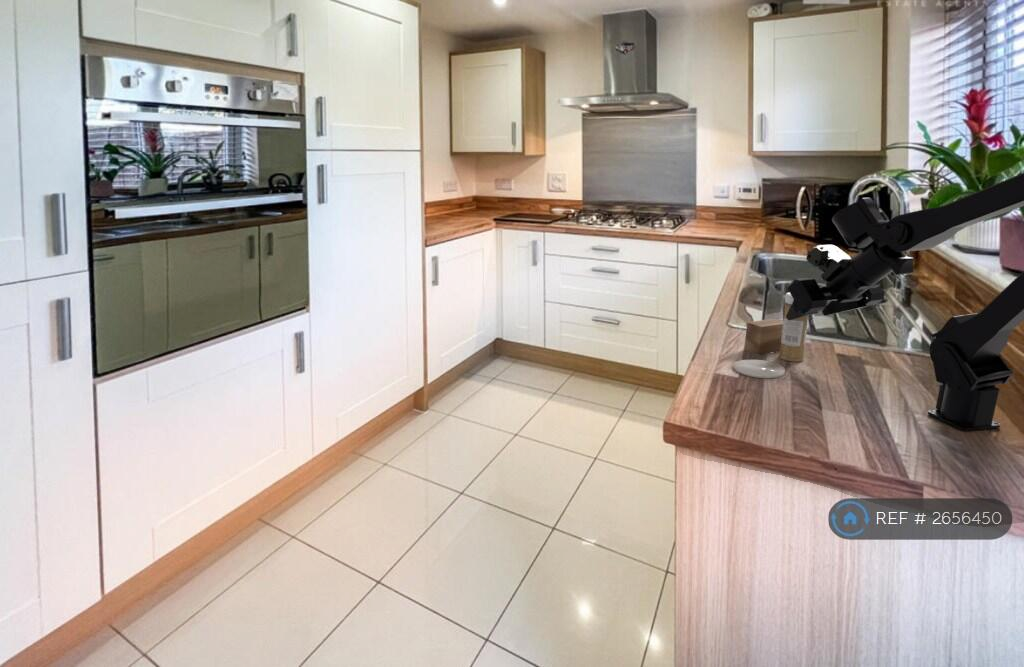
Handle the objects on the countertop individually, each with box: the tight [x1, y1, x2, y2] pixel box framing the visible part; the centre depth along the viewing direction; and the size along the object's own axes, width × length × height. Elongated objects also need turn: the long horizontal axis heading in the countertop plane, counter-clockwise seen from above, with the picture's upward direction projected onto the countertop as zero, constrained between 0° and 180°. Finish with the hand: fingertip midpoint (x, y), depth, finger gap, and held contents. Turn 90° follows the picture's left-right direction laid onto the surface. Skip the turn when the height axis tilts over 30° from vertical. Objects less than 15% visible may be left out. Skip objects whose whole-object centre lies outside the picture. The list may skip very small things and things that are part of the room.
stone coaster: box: [733, 359, 786, 379], centre depth 111 cm, size 9×9×1 cm
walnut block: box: [744, 318, 784, 355], centre depth 123 cm, size 4×8×6 cm, turn 112°
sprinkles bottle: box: [778, 291, 809, 363], centre depth 116 cm, size 5×5×14 cm
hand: (805, 315), depth 113 cm, fingers open, 9 cm apart
